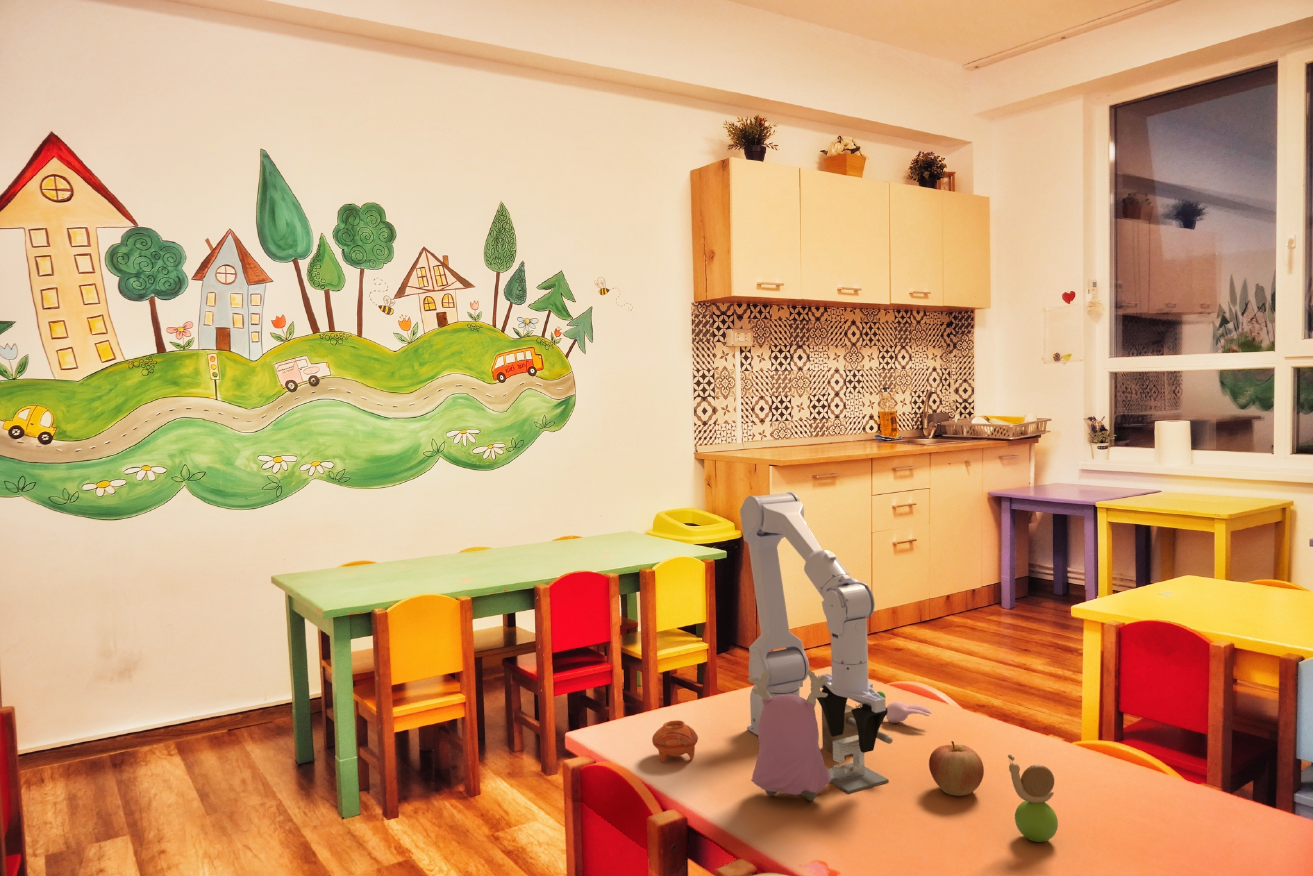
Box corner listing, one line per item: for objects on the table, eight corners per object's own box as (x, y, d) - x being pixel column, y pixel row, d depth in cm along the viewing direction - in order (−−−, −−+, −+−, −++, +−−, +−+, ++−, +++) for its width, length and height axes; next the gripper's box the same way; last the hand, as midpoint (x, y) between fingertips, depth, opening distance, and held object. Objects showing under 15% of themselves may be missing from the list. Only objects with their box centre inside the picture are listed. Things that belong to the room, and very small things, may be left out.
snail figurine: (1001, 832, 124) (999, 747, 124) (1045, 828, 125) (1044, 744, 124) (1020, 851, 119) (1018, 763, 118) (1066, 848, 119) (1065, 760, 119)
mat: (817, 774, 145) (817, 772, 145) (856, 764, 149) (856, 761, 149) (848, 793, 138) (848, 790, 138) (888, 781, 141) (888, 779, 141)
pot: (678, 770, 148) (669, 729, 148) (648, 768, 153) (640, 729, 154) (711, 755, 153) (703, 715, 154) (682, 753, 159) (673, 715, 160)
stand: (822, 747, 156) (821, 705, 156) (840, 742, 158) (839, 701, 157) (882, 780, 142) (881, 734, 142) (901, 775, 144) (900, 729, 143)
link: (833, 778, 143) (832, 741, 142) (858, 771, 145) (857, 735, 145) (839, 781, 141) (838, 744, 141) (864, 774, 143) (863, 738, 143)
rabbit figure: (849, 727, 169) (926, 729, 160) (843, 696, 169) (920, 696, 160) (861, 717, 174) (937, 718, 165) (855, 686, 174) (931, 686, 166)
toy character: (835, 787, 140) (832, 662, 139) (825, 817, 130) (822, 682, 130) (759, 778, 144) (756, 657, 143) (745, 807, 134) (741, 676, 134)
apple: (927, 799, 135) (926, 748, 135) (931, 778, 142) (930, 729, 142) (983, 807, 132) (982, 754, 132) (985, 784, 139) (983, 734, 139)
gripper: (900, 666, 138) (902, 753, 138) (841, 644, 151) (843, 723, 151) (864, 674, 134) (866, 762, 135) (806, 651, 147) (809, 731, 148)
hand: (851, 742), depth 143 cm, fingers open, 7 cm apart
